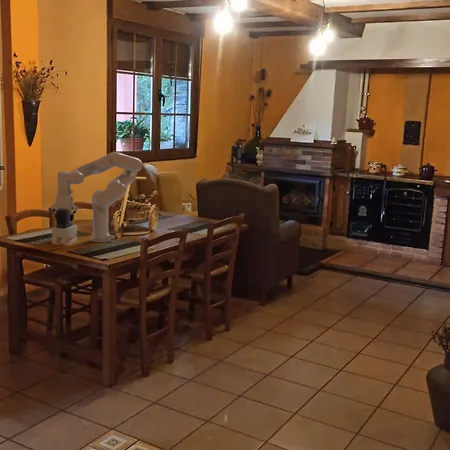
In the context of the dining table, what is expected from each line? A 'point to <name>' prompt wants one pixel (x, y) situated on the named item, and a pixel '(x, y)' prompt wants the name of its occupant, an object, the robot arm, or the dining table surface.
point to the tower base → (64, 240)
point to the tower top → (64, 231)
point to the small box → (63, 219)
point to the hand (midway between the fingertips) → (64, 220)
